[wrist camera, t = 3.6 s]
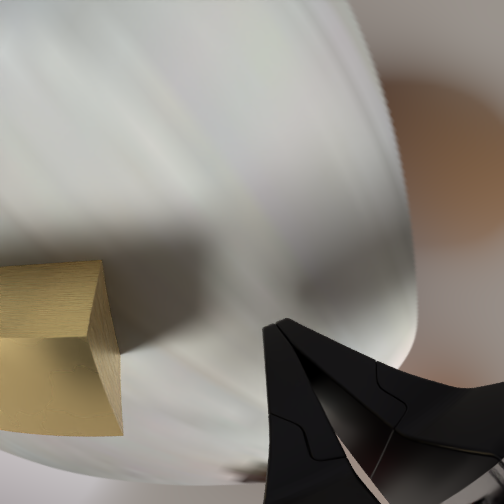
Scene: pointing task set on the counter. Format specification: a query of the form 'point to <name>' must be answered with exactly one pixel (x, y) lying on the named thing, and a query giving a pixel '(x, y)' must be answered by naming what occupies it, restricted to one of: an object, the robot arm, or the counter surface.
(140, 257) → the counter surface
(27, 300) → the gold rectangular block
